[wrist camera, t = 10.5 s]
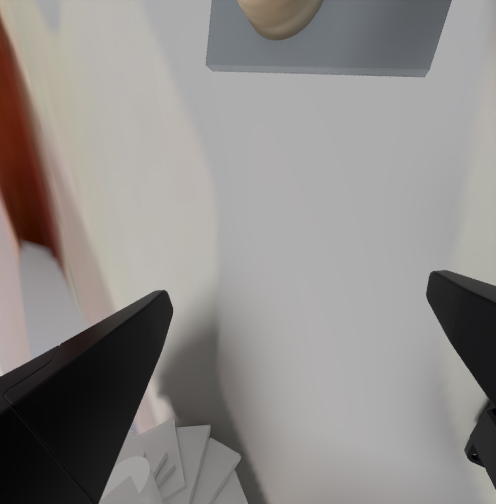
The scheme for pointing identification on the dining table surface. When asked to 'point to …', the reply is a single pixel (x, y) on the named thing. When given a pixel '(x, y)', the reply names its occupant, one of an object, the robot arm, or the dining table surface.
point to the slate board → (333, 39)
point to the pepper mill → (279, 16)
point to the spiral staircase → (174, 469)
